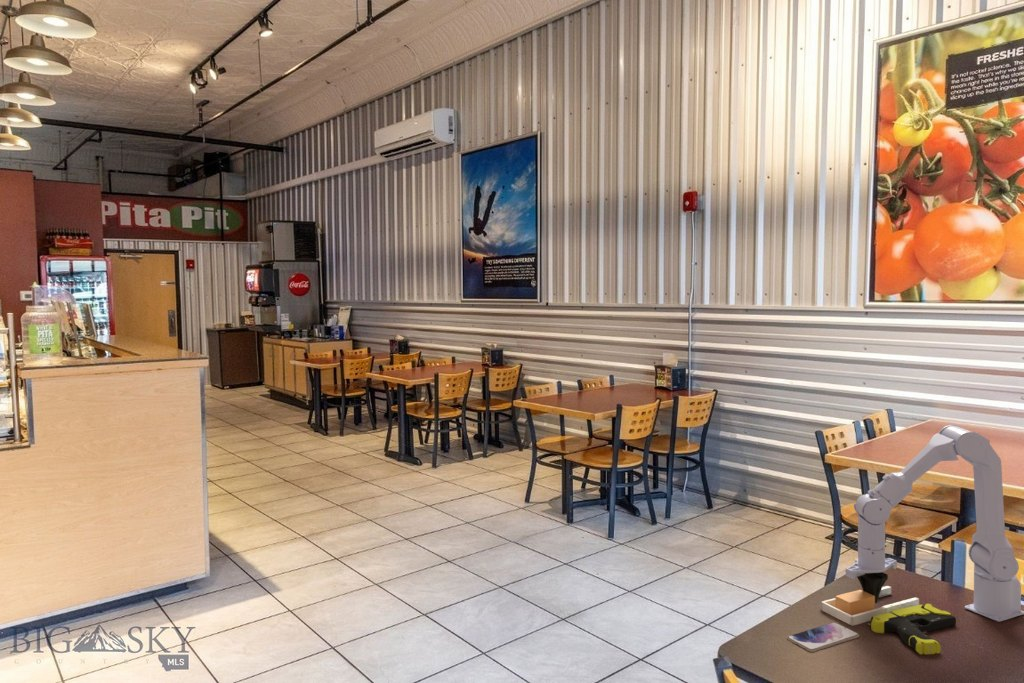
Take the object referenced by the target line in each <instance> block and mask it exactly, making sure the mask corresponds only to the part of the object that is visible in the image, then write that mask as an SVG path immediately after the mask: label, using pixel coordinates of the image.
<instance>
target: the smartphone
mask: <svg viewBox="0 0 1024 683" xmlns="http://www.w3.org/2000/svg"><path fill="white" fill-rule="evenodd" d="M859 637H860V634H859V632H856V631H853V630H852V629H850V628H847V627H845V626H843V625H842V624H840V623H838V622H830V623H827V624H823V625H820V626H817V627H814V628H811V629H807V630H804V631H801V632H798V633H793V634H791V635H787V636H786V640H787V641H789V642H791V643H793V644H794V645H797V646H799V647H800V648H802V649H803V650H806V652H809V653H814V652H817V651H821V650H823V649H826V648H829V647H833V646H836V645H839V644H843V643H845V642H848V641H851V640H854V639H857V638H859Z"/></svg>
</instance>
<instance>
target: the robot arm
mask: <svg viewBox="0 0 1024 683" xmlns="http://www.w3.org/2000/svg"><path fill="white" fill-rule="evenodd" d="M990 443H991V442H990V439H988V438H987V437H985V436H983V435H981V433H978V432H975V431H971V430H968V429H965V428H963V427H961V426H959V425H956V424H949V425H945V426H943V427H942V428H941V429H940V430H939V432H937V433H935V434H934V435H933V436H932V437H931V438H930V440H929V441H928V443H927V445H925V447H924V448H923V449H921V451H919V452H918V453H917V454H916V455H915V457H913V459H912V460H911V461H910V462H908V463H907V464H906V466H905V467H903V468H902V469H901V471H900V472H890V473H889V474H884V475H883V476H882V480H881V481H880V482H879V483H878V484H877V485H875V487H873V488H872V489H869V490H868V491H867V493H865V494H862V495H860V496H858V497H857V499H856V501H855V502H856V503H853V509H854V511H855V512H856V514H857V515H858V516H857V518H858V519H857V520H858V521H857V523H858V525H857V558H855V559H854V563H853V564H852V565H851V566H849V567H846V568H845V578H846V577H847V578H849V579H851V580H854V579H856V578H857V580H858V581H859V583H860V586H861V589H862V591H865V592H867V593H869V594H871V595H874V596H875V604H877V603H878V600H879V598H880V597H879V594H880V591H881V589H882V587H884V585H885V583H886V582H887V580H888V578H889V576H888V574H887V573H885V572H886V571H887V570H889V569H893V570H896V569H897V565H898V564H897V562H898V561H897V560H896V559H893V558H891V557H887V558H886V522H887V521H888V520H889V518H890V517H891V511H892V510H893V508H895V507H896V506H897V505H898V504H900V503H901V501H902V500H904V499H905V498H906V497H907V496H909V494H911V493H912V492H913V484H914V482H916V481H917V480H918V479H920V478H921V477H922V476H923V475H925V474H926V473H927V472H929V471H930V470H932V469H933V467H935V466H936V465H937V464H939V463H940V462H950V461H951V462H952V461H954V462H955V461H959V457H958V456H960V458H962V459H963V460H964V461H966V462H967V463H968V464H970V465H971V466H972V467H973V469H972V470H973V485H974V504H975V505H974V506H975V521H976V532H974V533H973V534H972V536H971V544H970V546H969V548H968V558H969V559H970V561H971V562H972V563H973V566H974V567H973V603H970V604H968V605H964V609H966V610H968V611H970V612H971V611H972V612H973V613H975V614H977V615H978V614H979V615H981V616H982V617H983V616H984V617H986V618H988V619H991V620H993V621H995V622H997V623H999V622H1004V621H1007V620H1010V619H1013V618H1015V617H1016V618H1017V617H1018V616H1023V615H1024V610H1022V608H1021V607H1022V606H1021V605H1022V603H1021V602H1022V585H1021V582H1020V580H1019V578H1018V577H1017V575H1018V571H1019V568H1020V566H1019V562H1018V560H1017V559H1016V557H1015V555H1014V548H1013V546H1012V544H1011V543H1010V540H1008V538H1007V537H1006V526H1005V525H1006V524H1005V510H1004V509H1005V507H1004V505H1005V504H1004V490H1003V472H1002V470H1003V469H1002V467H1003V466H1002V459H1001V457H1000V456H999V454H998V453H997V452H996V451H995V449H994V447H993V446H992V445H991V444H990Z"/></svg>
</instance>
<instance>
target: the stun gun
mask: <svg viewBox="0 0 1024 683" xmlns="http://www.w3.org/2000/svg"><path fill="white" fill-rule="evenodd" d="M867 625H869V626H870V630H871V631H872V632H874V633H876V634H885V633H886V634H887V633H897V634H898V636H899V637H900V639H901V641H902V642H903V643H904V644H905V645H907V646H909V647H910V648H911V649H912V650H914V651H916V652H917V653H918V654H919V655H935V654H939V653H941V650H942V649H941V648H942V647H941V646H942V645H940V643H939V642H938V641H937V640H935V639H934V638H932V637H930V636H929V635H927V634H926V633H925V632H932V631H937V630H940V629H945V628H950V627H954V626H956V625H957V618H956V617H955V616H954V615H952V613H950V612H949V611H946V610H941V609H939V608H936V607H935V606H933V604H931V603H925V605H923V603H922V604H919V605H916V606H912V607H907V608H902V609H897V610H893V611H892V612H890V613H885V614H881V615H876V616H872V618H871V621H870V622H868V623H867Z"/></svg>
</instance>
